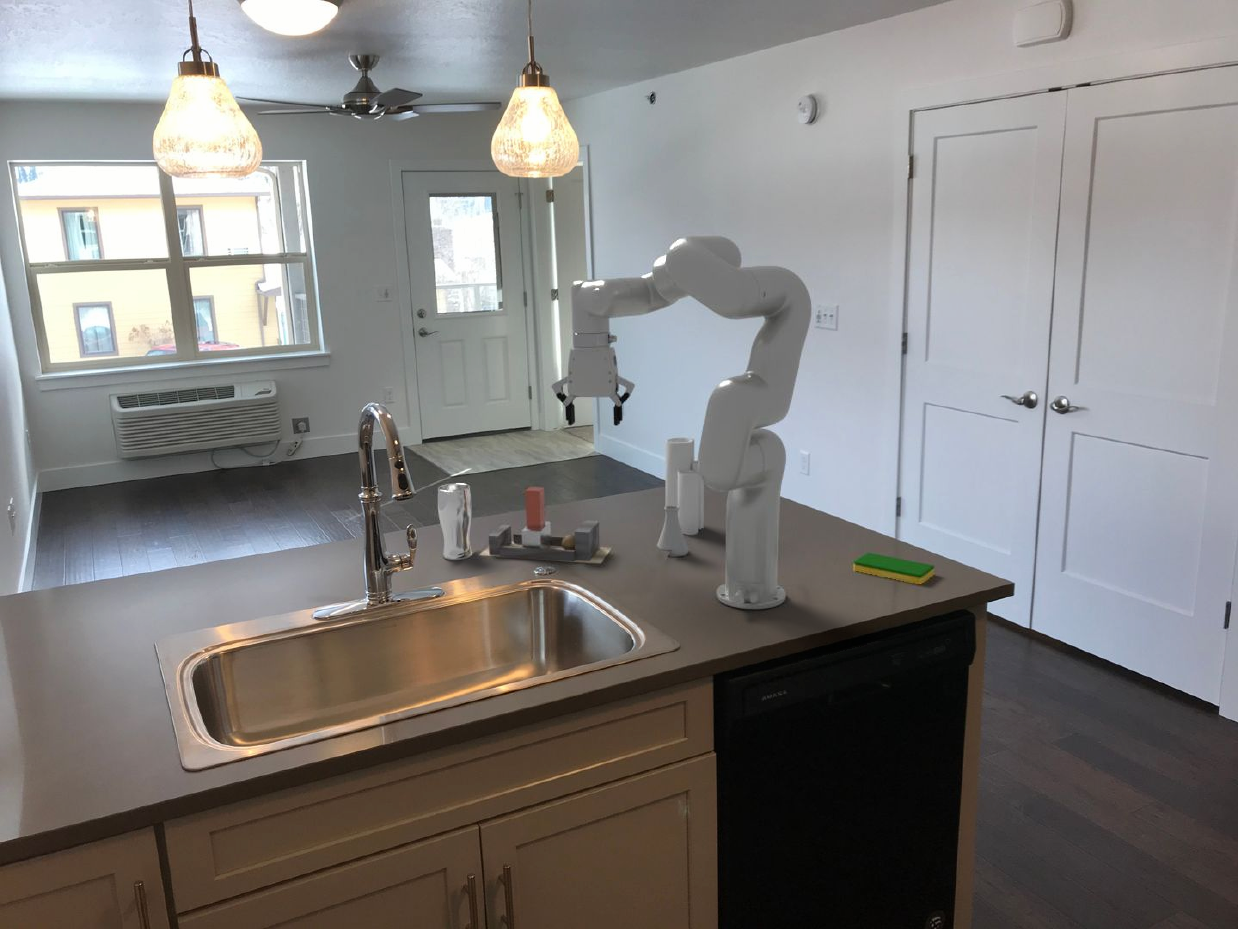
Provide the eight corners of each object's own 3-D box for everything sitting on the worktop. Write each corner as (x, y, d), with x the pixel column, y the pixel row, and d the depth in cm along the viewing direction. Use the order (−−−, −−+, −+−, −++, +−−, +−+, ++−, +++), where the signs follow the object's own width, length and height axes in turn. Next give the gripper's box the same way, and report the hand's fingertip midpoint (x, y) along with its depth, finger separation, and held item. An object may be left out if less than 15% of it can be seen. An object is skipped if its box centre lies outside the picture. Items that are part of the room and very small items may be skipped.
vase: (660, 523, 224) (659, 439, 220) (686, 519, 228) (686, 436, 223) (685, 536, 215) (685, 448, 210) (712, 531, 218) (713, 445, 213)
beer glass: (464, 562, 199) (460, 492, 196) (434, 559, 202) (430, 490, 198) (479, 552, 206) (476, 484, 202) (450, 549, 208) (447, 482, 204)
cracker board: (600, 570, 194) (599, 534, 192) (479, 562, 199) (477, 527, 198) (612, 554, 203) (611, 520, 201) (496, 547, 209) (494, 513, 207)
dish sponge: (867, 563, 197) (867, 551, 196) (934, 576, 189) (934, 565, 188) (852, 572, 192) (853, 561, 191) (920, 587, 183) (921, 575, 183)
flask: (689, 558, 200) (690, 511, 198) (655, 558, 201) (654, 512, 198) (688, 546, 207) (688, 502, 205) (654, 547, 208) (654, 502, 205)
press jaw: (540, 555, 197) (538, 493, 194) (522, 553, 198) (520, 492, 195) (551, 544, 204) (549, 485, 201) (533, 543, 205) (531, 484, 202)
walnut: (576, 556, 198) (576, 538, 197) (560, 555, 198) (559, 537, 197) (581, 550, 201) (581, 533, 200) (565, 549, 202) (564, 532, 201)
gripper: (636, 339, 198) (638, 421, 201) (555, 340, 201) (558, 420, 205) (629, 342, 190) (632, 428, 194) (545, 343, 194) (549, 427, 198)
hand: (594, 424), depth 199 cm, fingers open, 9 cm apart
